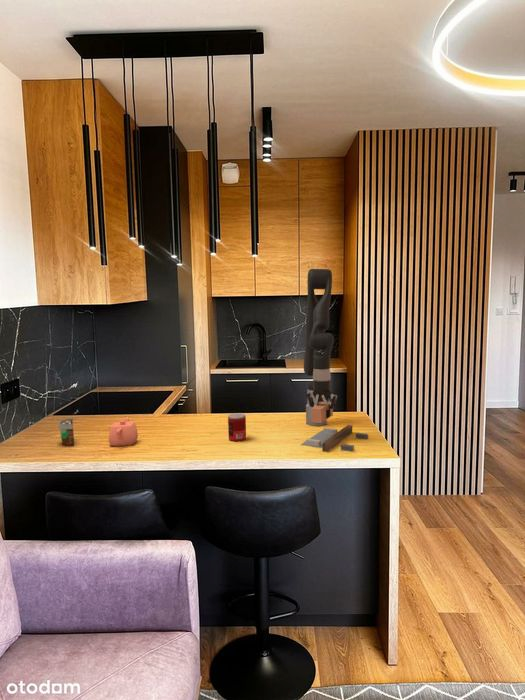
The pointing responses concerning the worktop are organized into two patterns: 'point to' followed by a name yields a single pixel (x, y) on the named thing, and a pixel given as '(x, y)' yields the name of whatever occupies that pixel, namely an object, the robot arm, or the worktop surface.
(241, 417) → the canned food
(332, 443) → the door edge
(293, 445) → the worktop surface
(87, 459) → the worktop surface
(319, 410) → the bar
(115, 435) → the teapot
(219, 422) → the worktop surface
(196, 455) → the worktop surface
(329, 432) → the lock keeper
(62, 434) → the food container
